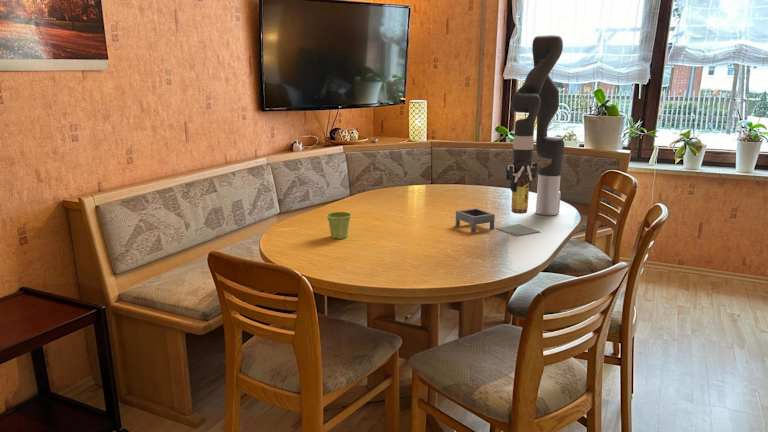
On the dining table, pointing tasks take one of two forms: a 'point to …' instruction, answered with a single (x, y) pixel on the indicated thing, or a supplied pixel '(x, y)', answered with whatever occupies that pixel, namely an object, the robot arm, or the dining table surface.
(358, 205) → the dining table surface
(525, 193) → the sauce bottle
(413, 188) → the dining table surface
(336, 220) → the plant pot
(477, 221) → the grey square frame stand
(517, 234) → the slate mat
